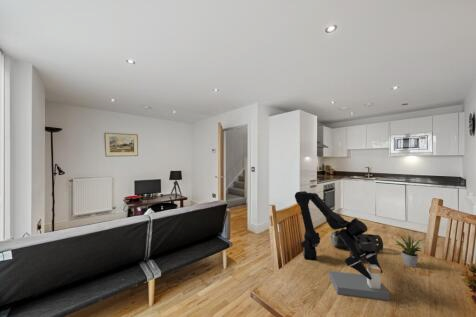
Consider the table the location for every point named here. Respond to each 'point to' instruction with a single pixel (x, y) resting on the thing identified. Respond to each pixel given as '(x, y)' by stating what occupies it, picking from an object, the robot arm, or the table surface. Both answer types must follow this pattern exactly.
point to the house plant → (409, 251)
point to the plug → (374, 276)
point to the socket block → (356, 286)
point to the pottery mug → (362, 258)
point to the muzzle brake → (363, 237)
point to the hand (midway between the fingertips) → (376, 276)
